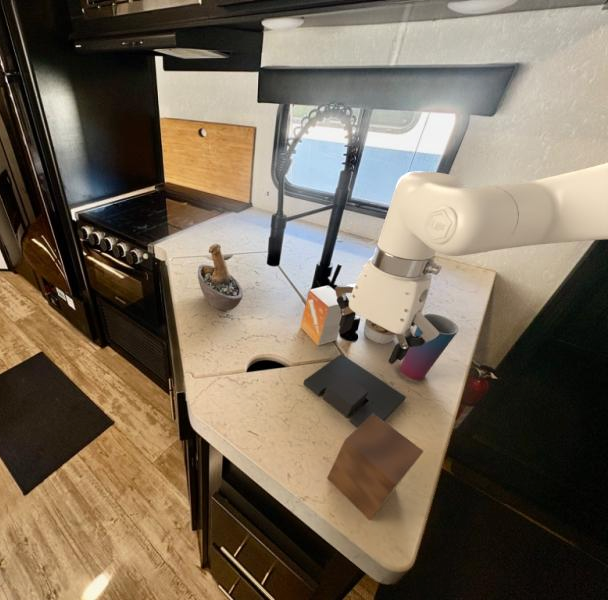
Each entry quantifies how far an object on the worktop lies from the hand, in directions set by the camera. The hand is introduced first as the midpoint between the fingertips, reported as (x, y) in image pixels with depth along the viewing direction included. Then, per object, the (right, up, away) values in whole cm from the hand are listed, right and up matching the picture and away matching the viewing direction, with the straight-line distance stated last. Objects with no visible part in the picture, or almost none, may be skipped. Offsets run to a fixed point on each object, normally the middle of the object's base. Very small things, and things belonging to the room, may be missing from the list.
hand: (368, 344), depth 57 cm
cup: (+20, -9, +18) cm, 28 cm away
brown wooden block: (-3, -24, -3) cm, 24 cm away
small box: (+1, -1, +29) cm, 29 cm away
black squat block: (0, -14, +11) cm, 18 cm away
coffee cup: (+17, -2, +29) cm, 34 cm away
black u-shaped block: (+3, -13, +13) cm, 18 cm away
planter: (-26, +7, +41) cm, 49 cm away
